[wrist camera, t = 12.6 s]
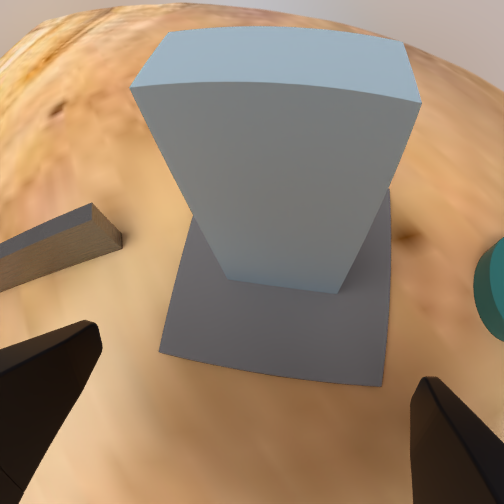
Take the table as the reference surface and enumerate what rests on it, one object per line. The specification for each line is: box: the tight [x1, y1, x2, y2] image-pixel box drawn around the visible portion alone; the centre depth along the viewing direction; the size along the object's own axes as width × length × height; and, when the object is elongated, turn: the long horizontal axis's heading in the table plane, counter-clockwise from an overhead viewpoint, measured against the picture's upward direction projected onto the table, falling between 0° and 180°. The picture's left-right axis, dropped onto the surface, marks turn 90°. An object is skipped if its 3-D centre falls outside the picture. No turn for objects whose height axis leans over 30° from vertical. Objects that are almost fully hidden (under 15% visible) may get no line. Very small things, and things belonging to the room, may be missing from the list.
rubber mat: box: [159, 189, 391, 387], centre depth 18 cm, size 12×12×1 cm
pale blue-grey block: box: [129, 26, 422, 294], centre depth 12 cm, size 2×6×13 cm, turn 80°
